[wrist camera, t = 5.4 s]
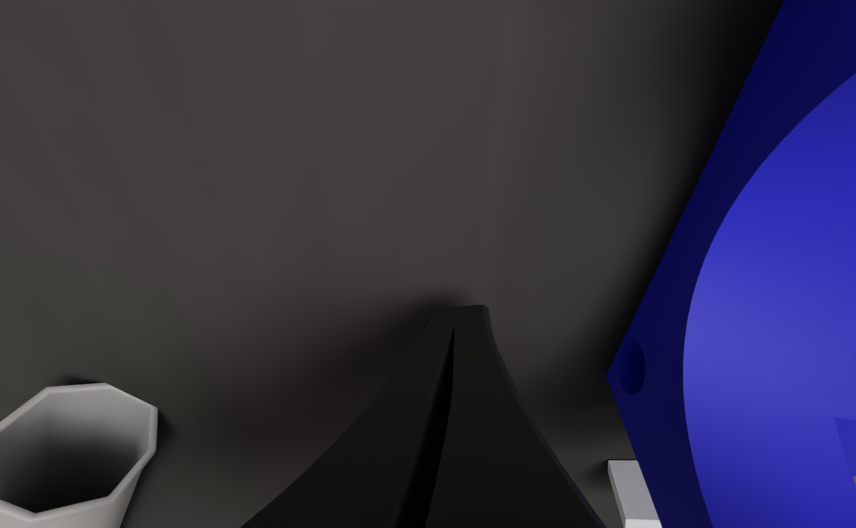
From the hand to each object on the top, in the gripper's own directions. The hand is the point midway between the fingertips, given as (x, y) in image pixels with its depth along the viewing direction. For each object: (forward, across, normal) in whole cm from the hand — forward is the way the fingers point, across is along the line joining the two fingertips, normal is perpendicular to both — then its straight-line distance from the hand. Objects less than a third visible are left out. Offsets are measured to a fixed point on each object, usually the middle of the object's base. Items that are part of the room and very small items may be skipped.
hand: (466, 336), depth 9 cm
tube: (+2, +25, +12) cm, 28 cm away
